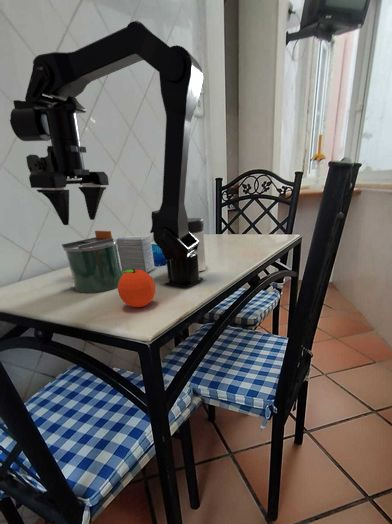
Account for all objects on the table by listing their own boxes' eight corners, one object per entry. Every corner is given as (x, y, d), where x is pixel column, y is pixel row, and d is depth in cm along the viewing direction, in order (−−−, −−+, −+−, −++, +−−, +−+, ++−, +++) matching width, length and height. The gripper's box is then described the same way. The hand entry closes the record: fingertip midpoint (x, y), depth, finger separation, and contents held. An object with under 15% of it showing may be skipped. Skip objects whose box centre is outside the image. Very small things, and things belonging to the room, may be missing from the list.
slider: (113, 240, 72) (111, 230, 71) (94, 244, 68) (92, 234, 67) (99, 239, 74) (98, 230, 73) (81, 243, 71) (79, 234, 70)
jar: (183, 275, 76) (179, 223, 71) (167, 270, 83) (162, 221, 77) (213, 268, 81) (211, 218, 75) (195, 263, 87) (192, 217, 81)
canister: (134, 281, 75) (126, 237, 70) (95, 296, 67) (83, 247, 62) (103, 276, 82) (94, 235, 77) (64, 289, 74) (51, 244, 69)
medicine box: (155, 269, 84) (150, 235, 80) (146, 273, 81) (141, 238, 77) (131, 268, 87) (125, 235, 83) (121, 272, 84) (115, 238, 80)
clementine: (109, 312, 58) (101, 274, 55) (126, 299, 64) (120, 264, 60) (149, 313, 56) (143, 274, 52) (163, 300, 62) (158, 264, 58)
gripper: (65, 144, 74) (77, 215, 82) (-4, 137, 59) (19, 226, 66) (105, 143, 70) (114, 217, 78) (43, 135, 55) (62, 229, 63)
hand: (79, 222), depth 72 cm, fingers open, 9 cm apart
